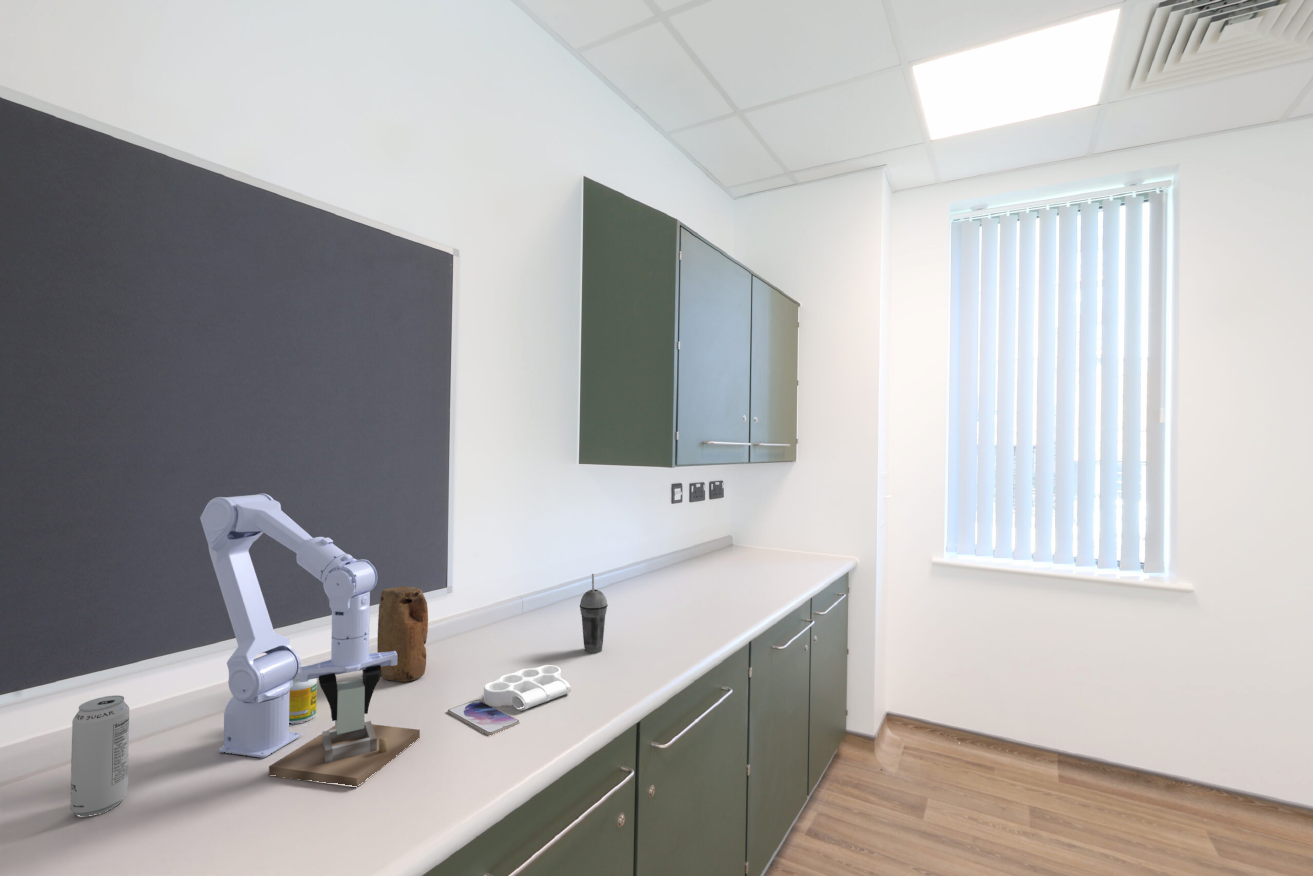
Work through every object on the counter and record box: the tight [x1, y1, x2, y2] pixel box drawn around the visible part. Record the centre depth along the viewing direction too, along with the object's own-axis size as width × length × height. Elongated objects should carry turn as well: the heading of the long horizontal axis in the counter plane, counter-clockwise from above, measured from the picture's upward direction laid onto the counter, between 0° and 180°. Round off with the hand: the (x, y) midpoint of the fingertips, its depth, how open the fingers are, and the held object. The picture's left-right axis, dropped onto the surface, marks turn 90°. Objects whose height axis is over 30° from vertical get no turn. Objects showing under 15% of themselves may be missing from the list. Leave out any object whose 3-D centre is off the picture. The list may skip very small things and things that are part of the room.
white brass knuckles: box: [483, 664, 572, 711], centre depth 125 cm, size 3×18×15 cm
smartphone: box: [446, 699, 520, 736], centre depth 114 cm, size 7×1×15 cm
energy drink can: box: [69, 695, 130, 816], centre depth 85 cm, size 6×6×15 cm
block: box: [376, 585, 429, 683], centre depth 135 cm, size 11×8×20 cm
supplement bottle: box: [289, 664, 318, 725], centre depth 113 cm, size 5×5×10 cm
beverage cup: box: [579, 573, 608, 654], centre depth 152 cm, size 7×7×20 cm
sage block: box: [334, 678, 365, 735], centre depth 100 cm, size 4×4×7 cm
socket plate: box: [268, 720, 421, 786], centre depth 100 cm, size 16×16×4 cm
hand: (349, 715), depth 100 cm, fingers closed on sage block, 4 cm apart
